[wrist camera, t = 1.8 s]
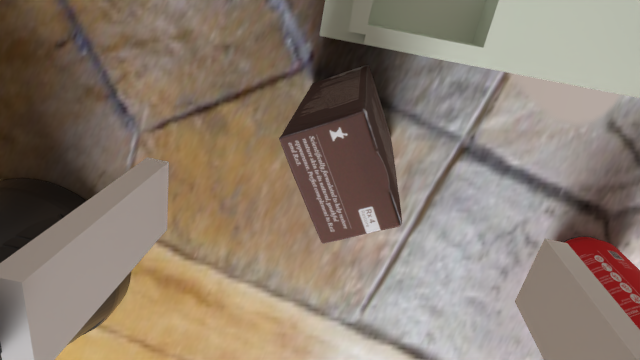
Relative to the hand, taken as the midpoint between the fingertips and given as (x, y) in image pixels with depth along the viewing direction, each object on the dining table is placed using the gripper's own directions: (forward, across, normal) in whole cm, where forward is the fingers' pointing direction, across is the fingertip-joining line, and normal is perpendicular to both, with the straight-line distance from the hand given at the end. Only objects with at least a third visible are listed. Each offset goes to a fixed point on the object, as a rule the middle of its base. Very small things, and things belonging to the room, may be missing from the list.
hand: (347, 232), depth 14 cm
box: (+17, 0, 0) cm, 17 cm away
